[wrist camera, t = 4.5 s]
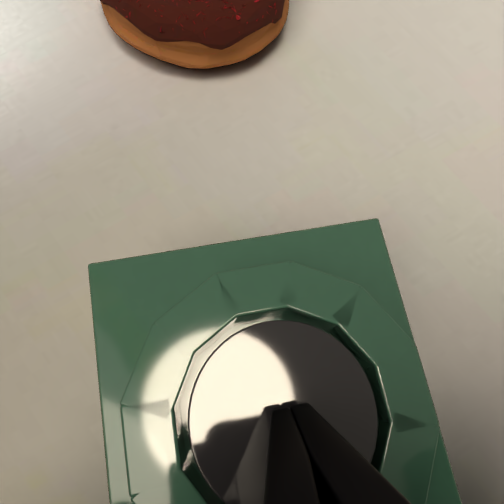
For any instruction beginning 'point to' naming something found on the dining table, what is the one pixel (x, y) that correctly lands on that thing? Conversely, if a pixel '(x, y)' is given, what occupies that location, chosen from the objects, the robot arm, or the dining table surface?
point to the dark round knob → (272, 401)
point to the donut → (197, 28)
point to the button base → (241, 316)
